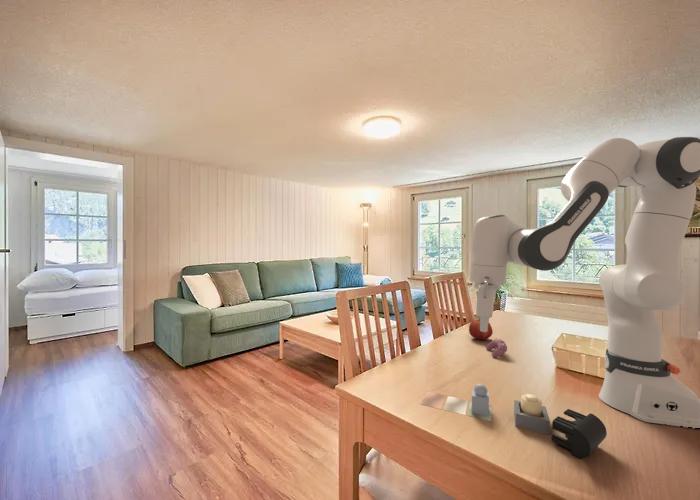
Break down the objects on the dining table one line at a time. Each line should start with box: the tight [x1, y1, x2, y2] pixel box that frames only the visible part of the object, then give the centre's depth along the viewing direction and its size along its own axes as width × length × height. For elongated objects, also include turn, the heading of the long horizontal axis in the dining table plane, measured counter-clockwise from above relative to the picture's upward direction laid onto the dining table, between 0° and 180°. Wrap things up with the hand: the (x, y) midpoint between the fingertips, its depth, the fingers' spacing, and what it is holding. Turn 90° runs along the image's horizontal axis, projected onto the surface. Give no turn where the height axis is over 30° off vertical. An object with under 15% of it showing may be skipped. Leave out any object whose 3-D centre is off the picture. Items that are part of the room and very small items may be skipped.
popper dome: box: [520, 393, 543, 417], centre depth 75 cm, size 4×4×5 cm
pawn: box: [471, 383, 490, 416], centre depth 80 cm, size 4×4×7 cm
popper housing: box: [513, 399, 551, 435], centre depth 75 cm, size 7×7×4 cm
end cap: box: [551, 408, 608, 460], centre depth 67 cm, size 10×7×7 cm
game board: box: [420, 391, 493, 422], centre depth 83 cm, size 18×10×1 cm, turn 64°
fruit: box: [468, 316, 494, 340], centre depth 142 cm, size 11×10×10 cm
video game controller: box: [485, 337, 508, 358], centre depth 124 cm, size 10×5×7 cm, turn 171°
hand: (484, 326), depth 82 cm, fingers open, 8 cm apart
